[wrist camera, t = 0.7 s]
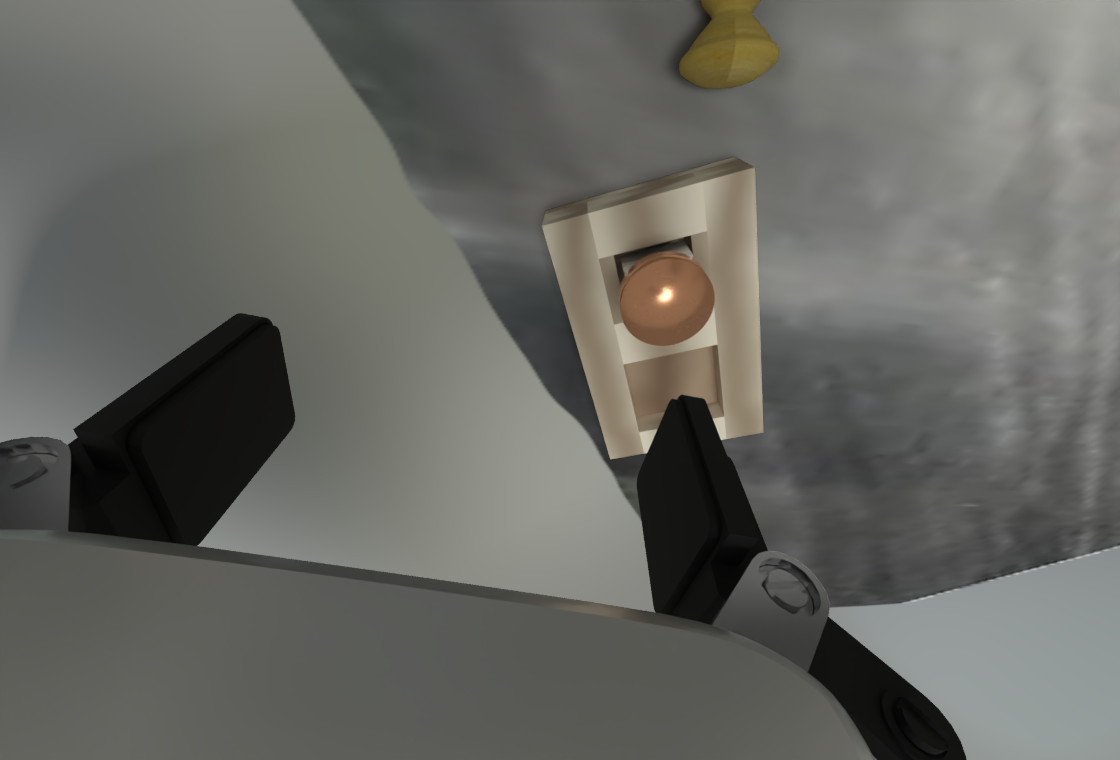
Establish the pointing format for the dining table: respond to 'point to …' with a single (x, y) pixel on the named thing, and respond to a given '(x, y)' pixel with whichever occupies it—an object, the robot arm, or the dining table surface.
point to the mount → (697, 363)
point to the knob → (729, 47)
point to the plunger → (664, 294)
